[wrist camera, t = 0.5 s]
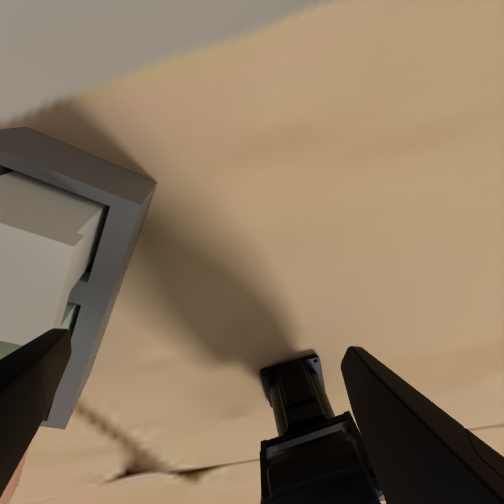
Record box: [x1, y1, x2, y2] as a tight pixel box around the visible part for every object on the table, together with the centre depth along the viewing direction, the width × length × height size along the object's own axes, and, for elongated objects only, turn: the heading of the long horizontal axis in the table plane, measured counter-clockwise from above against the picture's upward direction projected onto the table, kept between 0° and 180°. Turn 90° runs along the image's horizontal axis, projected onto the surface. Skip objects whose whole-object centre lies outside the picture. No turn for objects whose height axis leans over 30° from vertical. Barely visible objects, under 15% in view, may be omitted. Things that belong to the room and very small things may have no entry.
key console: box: [0, 127, 157, 429], centre depth 20 cm, size 8×21×5 cm, turn 153°
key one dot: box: [0, 171, 110, 345], centre depth 13 cm, size 6×6×7 cm
